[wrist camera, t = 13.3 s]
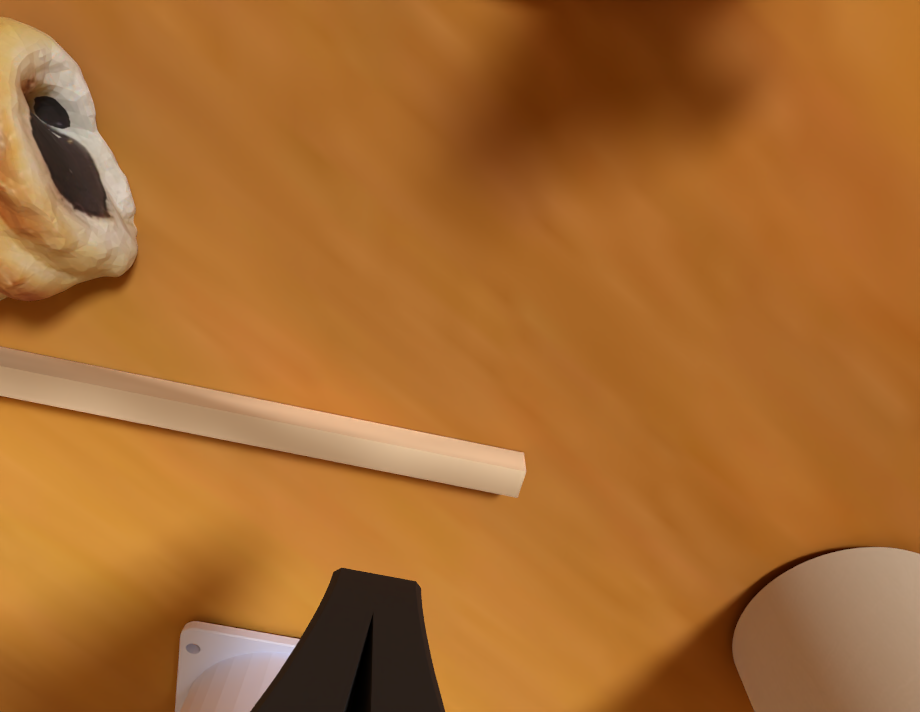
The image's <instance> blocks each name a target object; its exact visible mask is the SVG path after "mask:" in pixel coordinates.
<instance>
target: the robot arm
mask: <svg viewBox="0 0 920 712" xmlns="http://www.w3.org/2000/svg"><path fill="white" fill-rule="evenodd" d="M195 644H196V645H195ZM175 712H445V709H444V706H443V702H442V698H441V694H440V691H439V687H438V683H437V680H436V676H435V672H434V668H433V663H432V659H431V654H430V650H429V645H428V640H427V635H426V629H425V623H424V616H423V609H422V600H421V588H420V586H419V585H418V584H417V582H416V581H410V580H405V579H400V578H394V577H389V576H383V575H378V574H373V573H367V572H362V571H356V570H351V569H346V568H340V569H338V570H336V571H334V573H333V575H332V578H331V581H330V584H329V586H328V588H327V591H326V593H325V595H324V597H323V599H322V601H321V603H320V605H319V607H318V609H317V611H316V613H315V614H314V616H313V618H312V620H311V621H310V623H309V625H308V627H307V628H306V630H305V632H304V634H303V635H302V637H301V638H300V639H297V638H291V637H286V636H280V635H274V634H268V633H263V632H257V631H251V630H246V629H240V628H234V627H228V626H223V625H217V624H211V623H206V622H200V621H192V622H188V623H187V624H186V625H185V626H184V628H183V630H182V632H181V635H180V645H179V660H178V674H177V688H176V702H175Z"/></svg>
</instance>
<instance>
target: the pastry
mask: <svg viewBox="0 0 920 712" xmlns="http://www.w3.org/2000/svg"><path fill="white" fill-rule="evenodd" d="M95 115H96V113H95V108H94V103H93V100H92V97H91V94H90V91H89V89H88V86H87V84H86V82H85V80H84V78H83V75H82V72H81V69H80V67H79V66H78V64H77V63H76V62H75V61H74V60H73V59H72V57H71V56H70V55H69V54H68V53H67V52H66V51H65V50H64V49H63V48H62V47H61V46H60V45H59V44H58V43H57V42H56V41H55V40H54V39H53V38H51V37H50V36H49V35H47V34H45V33H44V32H42V31H40V30H38V29H36V28H34V27H32V26H29V25H27V24H24V23H22V22H19V21H16V20H14V19H11V18H6V17H0V301H1V300H3V299H5V298H6V297H9V298H13V299H17V300H22V301H35V300H42V299H46V298H49V297H51V296H53V295H56V294H58V293H60V292H63V291H65V290H67V289H69V288H71V287H72V286H74V285H76V284H79V283H81V282H85V281H88V280H91V279H95V278H99V277H119V276H121V275H123V274H124V273H125V272H126V271H127V270H128V269H129V268H130V267H131V266H132V264H133V262H134V260H135V258H136V255H137V251H138V246H137V241H136V236H137V228H136V226H135V224H134V222H133V218H134V214H135V211H136V208H135V204H134V201H133V198H132V195H131V191H130V187H129V184H128V181H127V178H126V176H125V175H124V174H123V172H122V171H121V170H120V168H119V166H118V164H117V161H116V159H115V157H114V155H113V153H112V151H111V150H110V148H109V147H108V145H107V144H106V142H105V141H104V139H103V138H102V137H101V136H100V134H99V132H98V131H97V126H96V119H95Z"/></svg>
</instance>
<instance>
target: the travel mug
mask: <svg viewBox="0 0 920 712" xmlns="http://www.w3.org/2000/svg"><path fill="white" fill-rule="evenodd" d="M732 652H733V658H734V663H735V665H736V668H737V671H738V673H739V675H740V678H741V680H742V683H743V685H744V688H745V690H746V693H747V695H748V697H749V700H750V702H751V705H752V707H753V710H754V712H920V554H918V553H915V552H911V551H907V550H902V549H896V548H886V547H864V548H854V549H847V550H842V551H837V552H832V553H829V554H825V555H822V556H819V557H816V558H814V559H811V560H808V561H806V562H804V563H802V564H799V565H797V566H795V567H793V568H792V569H790V570H788V571H786V572H785V573H783V574H781V575H780V576H778V577H777V578H775V579H774V580H773V581H771V582H770V583H769V584H768V585H766V586H765V587H764V588H763V589H762V590H761V591H760V592H759V593H758V594H757V595H756V596H755V597H754V598H753V599H752V600H751V602H750V603H749V604H748V605H747V607H746V608H745V610H744V611H743V613H742V615H741V617H740V619H739V621H738V623H737V625H736V628H735V631H734V636H733V643H732Z"/></svg>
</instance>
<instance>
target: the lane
mask: <svg viewBox="0 0 920 712" xmlns="http://www.w3.org/2000/svg"><path fill="white" fill-rule="evenodd" d="M0 396H4V397H9V398H15V399H20V400H25V401H30V402H35V403H40V404H45V405H50V406H55V407H60V408H65V409H70V410H75V411H80V412H85V413H91V414H96V415H101V416H106V417H111V418H116V419H121V420H126V421H131V422H136V423H141V424H146V425H151V426H156V427H161V428H166V429H172V430H177V431H182V432H187V433H192V434H197V435H202V436H207V437H212V438H217V439H222V440H227V441H232V442H237V443H242V444H247V445H253V446H258V447H263V448H268V449H273V450H278V451H283V452H288V453H293V454H298V455H303V456H308V457H313V458H318V459H323V460H329V461H334V462H339V463H344V464H349V465H354V466H359V467H364V468H369V469H374V470H379V471H384V472H389V473H394V474H399V475H404V476H410V477H415V478H420V479H425V480H430V481H435V482H440V483H445V484H450V485H455V486H460V487H465V488H470V489H475V490H480V491H486V492H491V493H496V494H501V495H506V496H511V497H516V498H518V495H519V492H520V489H521V486H522V483H523V480H524V477H525V474H526V466H525V458H524V453H522V452H517V451H512V450H507V449H502V448H497V447H492V446H487V445H482V444H477V443H472V442H468V441H463V440H458V439H453V438H448V437H443V436H438V435H433V434H428V433H423V432H418V431H413V430H408V429H404V428H399V427H394V426H389V425H384V424H379V423H374V422H369V421H364V420H359V419H354V418H349V417H344V416H340V415H335V414H330V413H325V412H320V411H315V410H310V409H305V408H300V407H295V406H290V405H285V404H280V403H276V402H271V401H266V400H261V399H256V398H251V397H246V396H241V395H236V394H231V393H226V392H221V391H216V390H212V389H207V388H202V387H197V386H192V385H187V384H182V383H177V382H172V381H167V380H162V379H157V378H153V377H148V376H143V375H138V374H133V373H128V372H123V371H118V370H113V369H108V368H103V367H98V366H93V365H89V364H84V363H79V362H74V361H69V360H64V359H59V358H54V357H49V356H44V355H39V354H34V353H29V352H25V351H20V350H15V349H10V348H5V347H0Z"/></svg>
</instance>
